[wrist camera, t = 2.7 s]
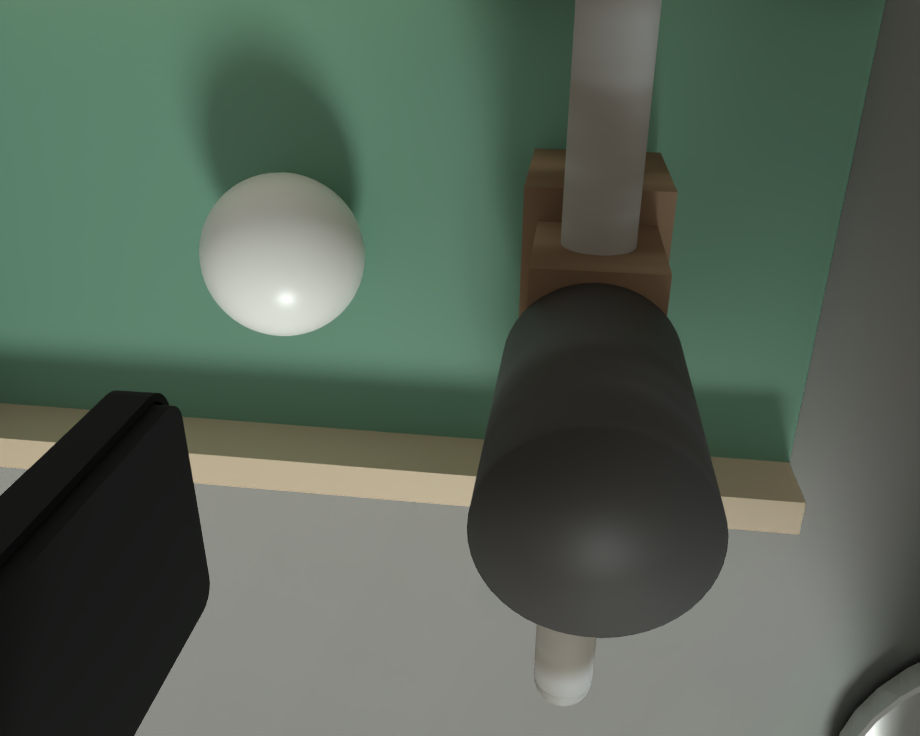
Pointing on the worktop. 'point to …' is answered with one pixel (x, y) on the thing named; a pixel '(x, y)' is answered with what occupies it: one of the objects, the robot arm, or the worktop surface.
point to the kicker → (597, 383)
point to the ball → (281, 254)
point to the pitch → (401, 222)
